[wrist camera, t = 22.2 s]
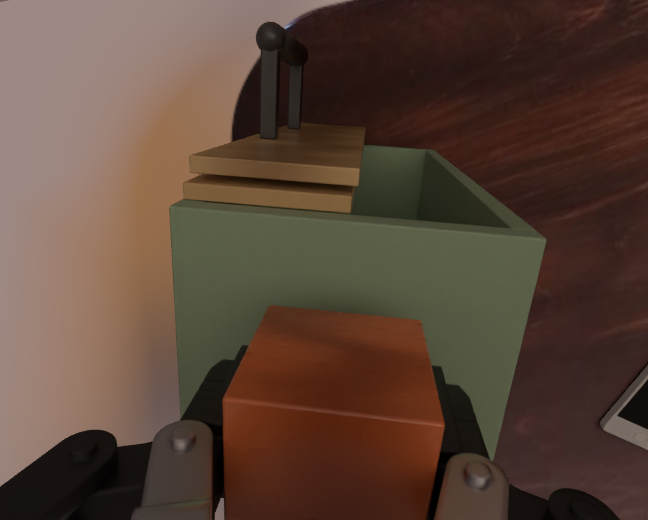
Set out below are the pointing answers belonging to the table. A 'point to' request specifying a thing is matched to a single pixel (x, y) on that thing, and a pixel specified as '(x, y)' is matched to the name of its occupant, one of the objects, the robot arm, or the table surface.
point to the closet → (359, 266)
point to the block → (332, 420)
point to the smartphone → (630, 413)
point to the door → (287, 129)
